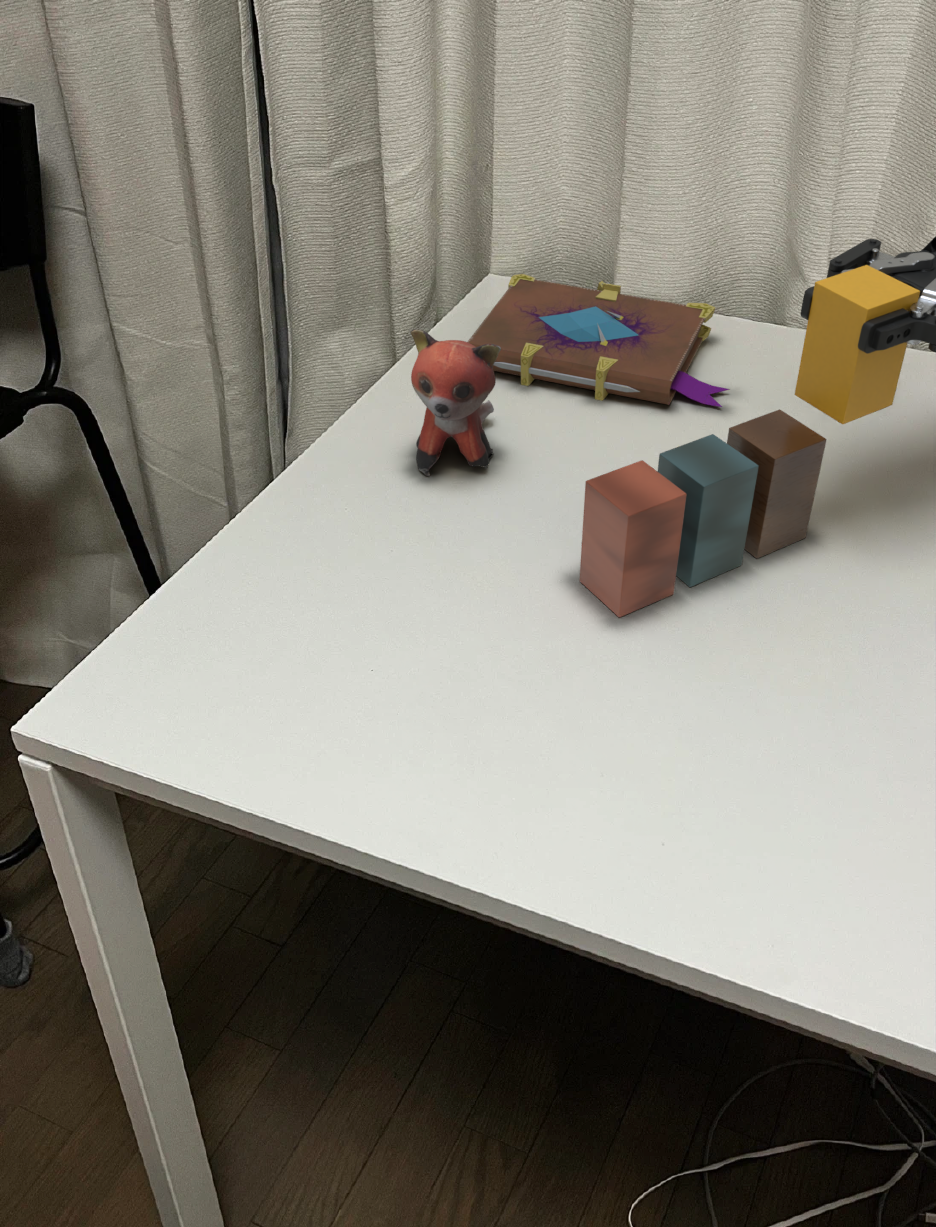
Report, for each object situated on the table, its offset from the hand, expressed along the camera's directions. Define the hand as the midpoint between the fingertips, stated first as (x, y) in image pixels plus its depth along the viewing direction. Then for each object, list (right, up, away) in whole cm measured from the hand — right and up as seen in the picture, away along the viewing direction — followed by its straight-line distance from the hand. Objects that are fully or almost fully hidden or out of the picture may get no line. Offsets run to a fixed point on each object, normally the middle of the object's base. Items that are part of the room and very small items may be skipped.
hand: (834, 321), depth 83 cm
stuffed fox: (-26, -6, +20) cm, 33 cm away
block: (+2, -4, +6) cm, 7 cm away
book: (-12, +4, +33) cm, 35 cm away
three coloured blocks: (-8, -16, +8) cm, 20 cm away
